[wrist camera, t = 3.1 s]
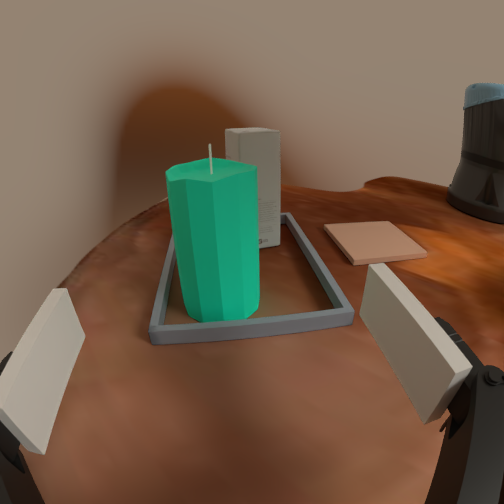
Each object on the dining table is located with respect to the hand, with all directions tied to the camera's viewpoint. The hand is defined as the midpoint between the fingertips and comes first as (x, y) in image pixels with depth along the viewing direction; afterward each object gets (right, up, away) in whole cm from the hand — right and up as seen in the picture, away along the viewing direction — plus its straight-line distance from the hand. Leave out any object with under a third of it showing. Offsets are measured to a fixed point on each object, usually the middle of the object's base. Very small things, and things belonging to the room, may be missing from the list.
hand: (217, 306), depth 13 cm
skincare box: (+2, +4, +22) cm, 23 cm away
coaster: (+15, +3, +20) cm, 25 cm away
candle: (-1, -2, +12) cm, 12 cm away
